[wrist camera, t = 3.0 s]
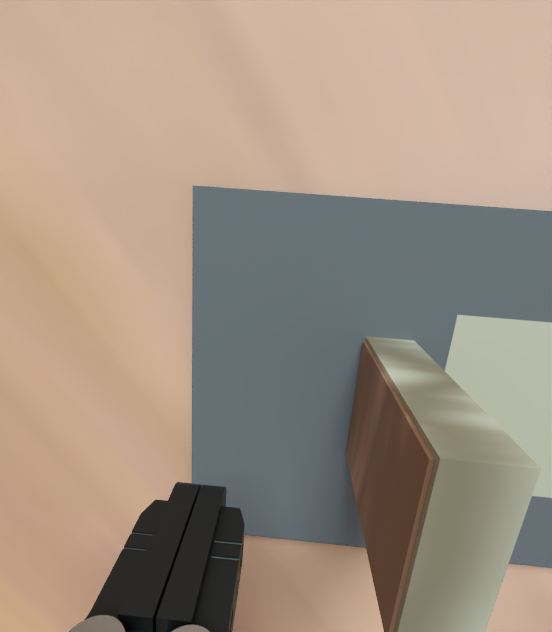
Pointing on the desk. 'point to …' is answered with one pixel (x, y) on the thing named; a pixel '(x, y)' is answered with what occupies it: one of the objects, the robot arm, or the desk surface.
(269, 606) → the desk surface
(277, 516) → the rubber mat
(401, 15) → the desk surface
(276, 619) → the desk surface
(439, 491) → the birch tile
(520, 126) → the desk surface
